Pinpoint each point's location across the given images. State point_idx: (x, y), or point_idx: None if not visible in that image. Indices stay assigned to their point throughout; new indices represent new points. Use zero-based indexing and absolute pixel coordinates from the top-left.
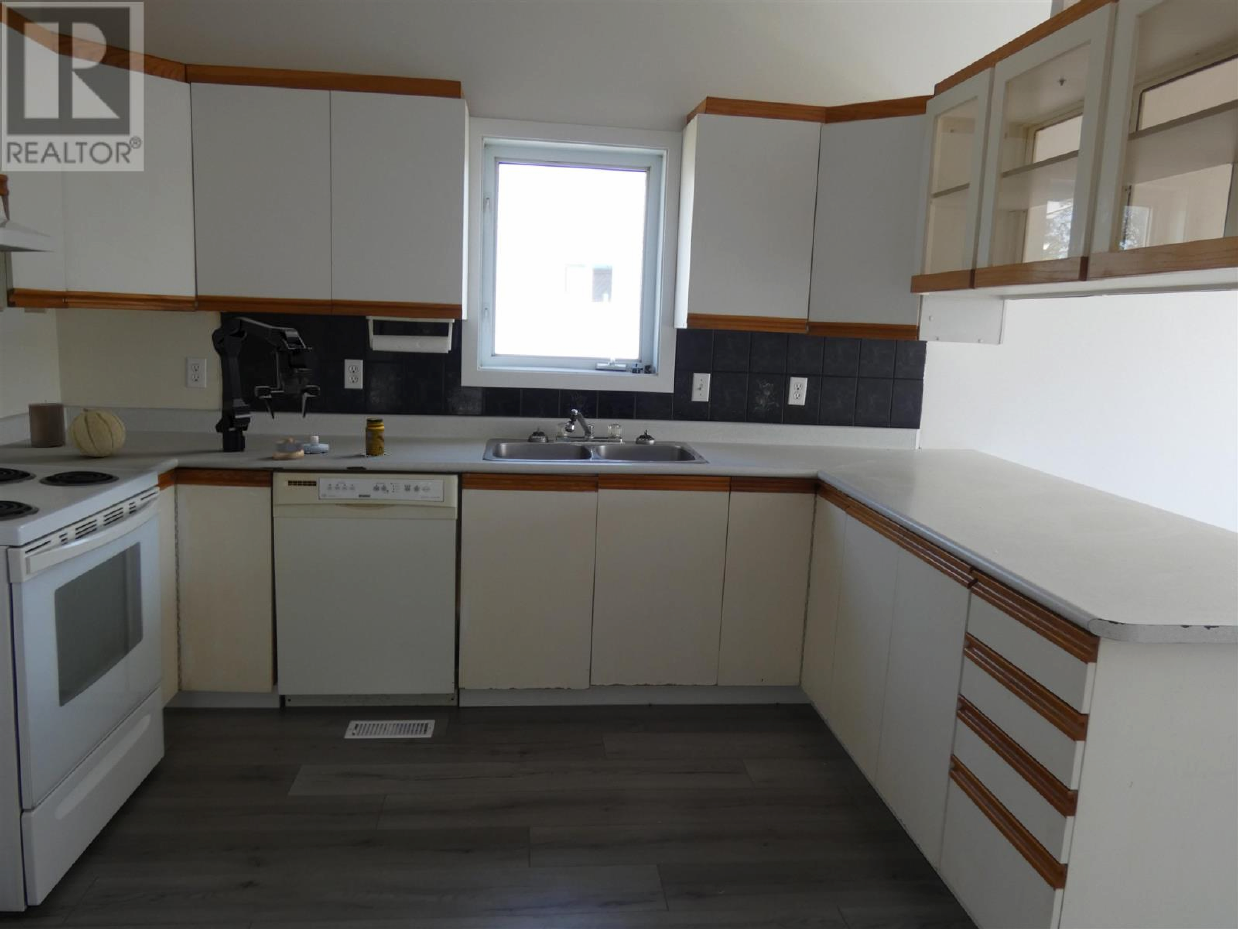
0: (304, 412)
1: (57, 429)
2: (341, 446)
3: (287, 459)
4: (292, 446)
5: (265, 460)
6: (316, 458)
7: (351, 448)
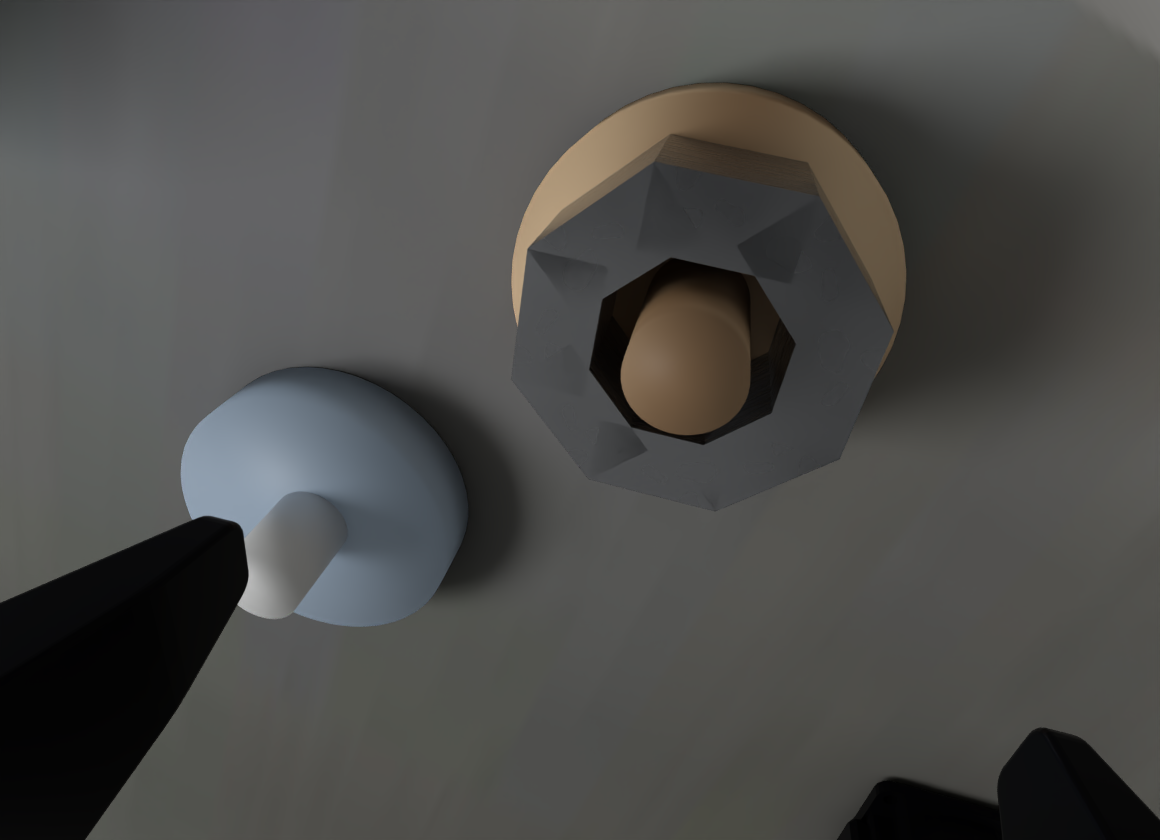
0: (95, 598)
1: None
2: None
3: (802, 105)
4: (707, 159)
5: (1074, 200)
6: (431, 27)
7: (26, 472)
